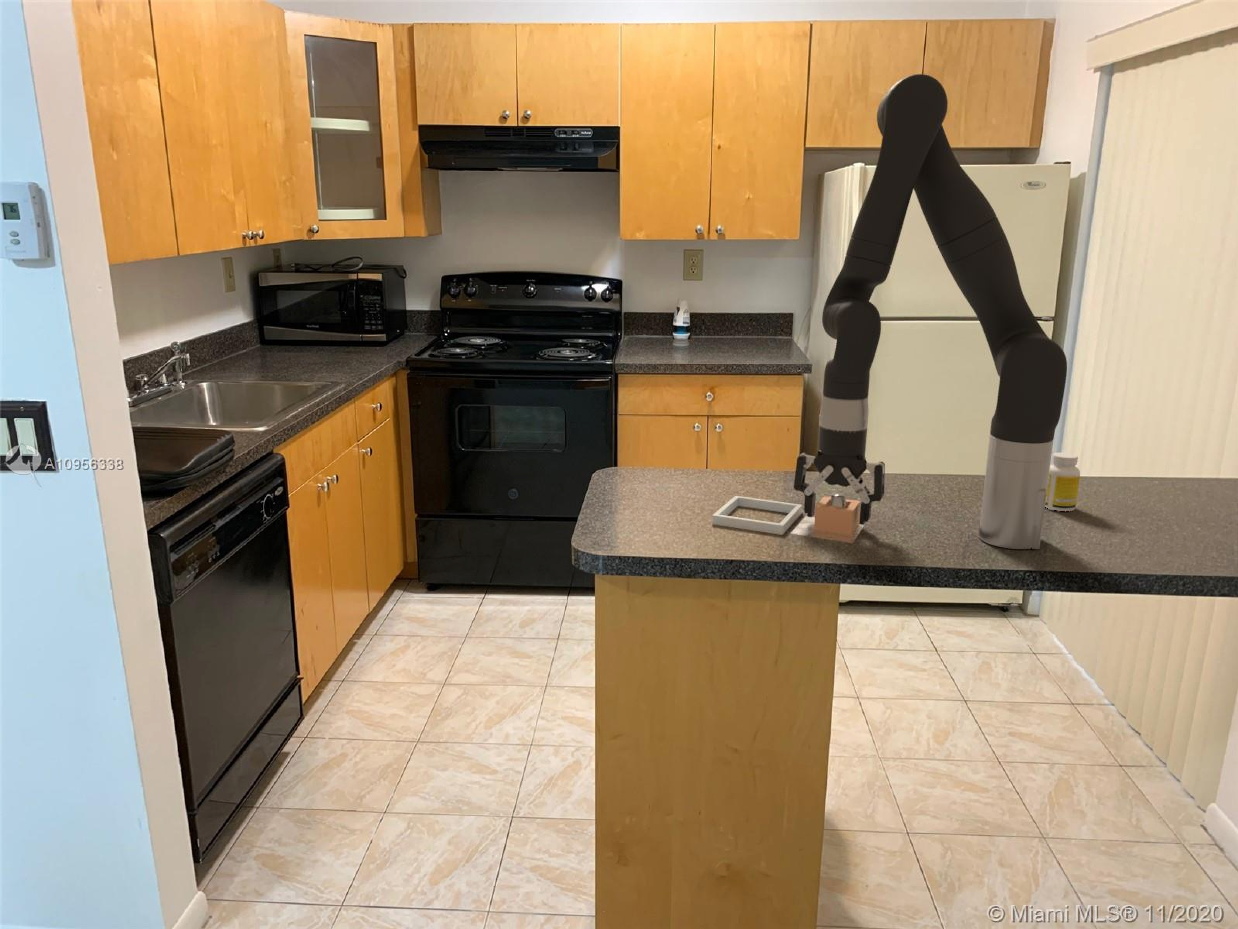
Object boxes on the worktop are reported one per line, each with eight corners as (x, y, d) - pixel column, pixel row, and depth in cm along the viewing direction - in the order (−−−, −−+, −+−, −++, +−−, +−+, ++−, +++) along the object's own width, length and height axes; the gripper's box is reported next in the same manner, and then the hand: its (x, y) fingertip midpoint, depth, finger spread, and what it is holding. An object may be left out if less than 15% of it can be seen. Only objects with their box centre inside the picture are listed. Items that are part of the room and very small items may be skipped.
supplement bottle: (1081, 509, 164) (1089, 456, 162) (1062, 514, 162) (1069, 460, 159) (1054, 501, 169) (1061, 449, 166) (1035, 506, 166) (1042, 453, 164)
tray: (801, 518, 159) (802, 504, 159) (782, 540, 149) (783, 525, 148) (735, 509, 164) (735, 495, 164) (712, 529, 154) (712, 515, 153)
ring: (858, 524, 154) (860, 501, 152) (850, 535, 148) (852, 511, 147) (822, 518, 156) (824, 496, 155) (814, 529, 151) (815, 506, 150)
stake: (864, 529, 154) (867, 492, 152) (852, 548, 145) (855, 509, 143) (805, 521, 158) (807, 484, 156) (790, 539, 149) (792, 501, 148)
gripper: (892, 423, 148) (884, 519, 152) (805, 414, 154) (799, 507, 158) (884, 433, 141) (875, 533, 146) (793, 423, 147) (787, 520, 152)
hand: (836, 519), depth 152 cm, fingers open, 8 cm apart
